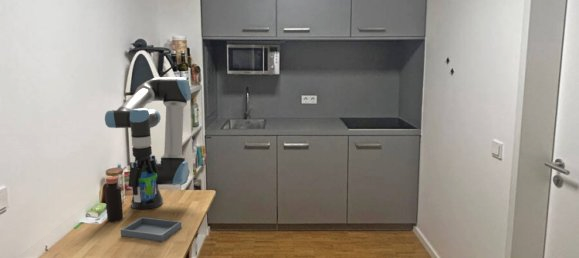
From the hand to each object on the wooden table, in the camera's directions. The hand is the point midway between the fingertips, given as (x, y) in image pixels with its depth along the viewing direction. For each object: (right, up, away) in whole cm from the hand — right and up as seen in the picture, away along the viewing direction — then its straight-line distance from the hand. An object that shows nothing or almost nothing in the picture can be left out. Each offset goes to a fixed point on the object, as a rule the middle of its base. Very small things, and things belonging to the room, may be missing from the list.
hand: (145, 197), depth 190 cm
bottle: (-20, -13, +18) cm, 30 cm away
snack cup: (0, 0, 0) cm, 1 cm away
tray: (+2, -15, +3) cm, 16 cm away
